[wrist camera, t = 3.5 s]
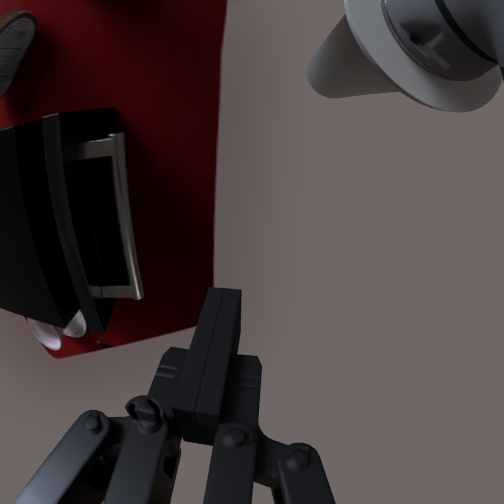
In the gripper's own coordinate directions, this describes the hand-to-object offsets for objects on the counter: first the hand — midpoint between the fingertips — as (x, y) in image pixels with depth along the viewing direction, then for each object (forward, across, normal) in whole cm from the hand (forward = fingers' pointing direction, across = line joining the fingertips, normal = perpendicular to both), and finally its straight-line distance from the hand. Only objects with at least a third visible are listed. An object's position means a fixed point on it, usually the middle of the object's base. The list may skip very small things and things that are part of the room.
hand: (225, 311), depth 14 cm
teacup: (+20, -34, -22) cm, 45 cm away
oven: (+19, -26, 0) cm, 32 cm away
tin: (+19, -34, +21) cm, 44 cm away
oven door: (+19, -15, 0) cm, 24 cm away
